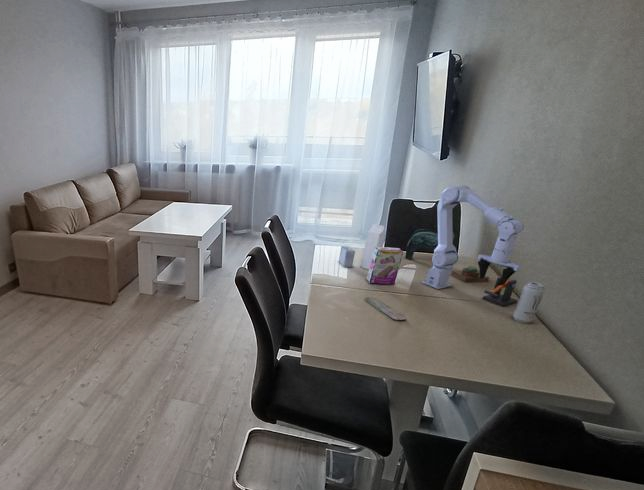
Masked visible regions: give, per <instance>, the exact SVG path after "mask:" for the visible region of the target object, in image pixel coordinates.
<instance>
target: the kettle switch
mask: <svg viewBox="0 0 644 490" xmlns="http://www.w3.org/2000/svg"><path fill="white" fill-rule="evenodd" d="M508 281H512V280H511V279H510V278H508V280H507V281H506V282H505V284H504V285H499V286H498V287H497V288H495V289H494V288H493V289H492V290H491V291H490V290H487V289H485V290H484V291H483V294H486V295H492V296H495V297H498V296H499V295H498V294H495V293H496V292H497V291H499V290H500V289H502V290H503V288H504V289H506V286H507V283H508Z"/></svg>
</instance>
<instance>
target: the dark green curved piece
mask: <svg viewBox="0 0 644 490" xmlns="http://www.w3.org/2000/svg"><path fill="white" fill-rule="evenodd" d="M436 227H438V224H436V225H434V228H436ZM419 231H420V232H419ZM455 238H456V235H455V230H453V242H454V241H455ZM437 246H438V232H434V231H431V230H429V229H423V228H421V229H417V230H415V231H414V232H413V233H412V235H411V237H410V239H409V240H408V242H407V245H406V248H405V257H404V258H405V259H406V260H413V256H414V253H415V252H417V251H419V250H420V251H421V250H424V251H425V250H426V251H429V252H432V253H434V250H435V249H436V248H437Z"/></svg>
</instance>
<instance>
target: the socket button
mask: <svg viewBox="0 0 644 490" xmlns="http://www.w3.org/2000/svg"><path fill="white" fill-rule="evenodd" d="M466 268H467V271H470V272H477V270H478V268H477V267H476V266H472V265H469V266H467V267H466Z"/></svg>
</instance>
